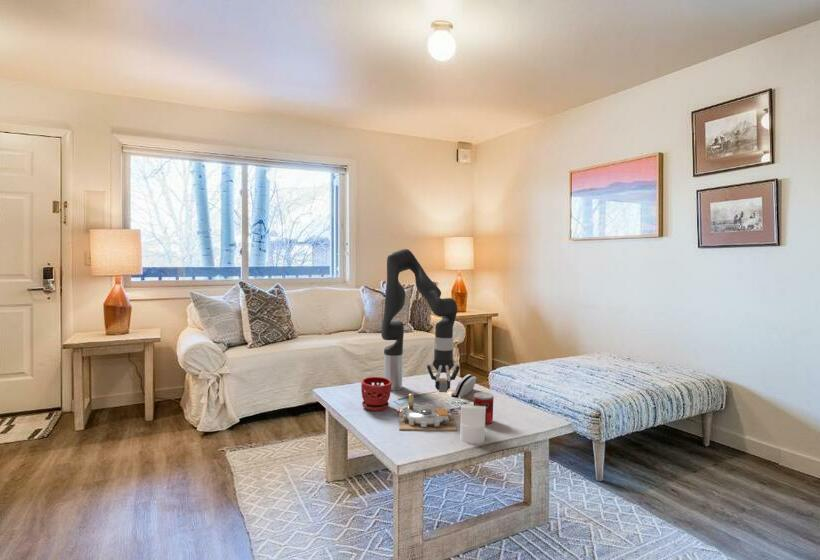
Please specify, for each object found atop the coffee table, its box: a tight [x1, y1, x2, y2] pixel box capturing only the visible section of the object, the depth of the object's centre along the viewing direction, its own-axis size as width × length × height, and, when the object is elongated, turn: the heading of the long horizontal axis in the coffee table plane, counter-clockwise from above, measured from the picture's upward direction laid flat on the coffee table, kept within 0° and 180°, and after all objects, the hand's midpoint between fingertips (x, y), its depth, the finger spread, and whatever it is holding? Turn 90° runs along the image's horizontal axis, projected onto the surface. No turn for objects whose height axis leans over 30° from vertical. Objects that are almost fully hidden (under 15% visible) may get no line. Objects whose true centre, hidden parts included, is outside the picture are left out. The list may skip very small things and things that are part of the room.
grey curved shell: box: [450, 373, 478, 398], centre depth 227 cm, size 17×5×10 cm, turn 151°
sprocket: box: [401, 392, 453, 427], centre depth 191 cm, size 20×20×8 cm
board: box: [398, 408, 457, 432], centre depth 192 cm, size 22×22×1 cm
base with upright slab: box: [459, 404, 486, 445], centre depth 174 cm, size 9×9×12 cm
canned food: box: [473, 391, 494, 426], centre depth 191 cm, size 8×8×11 cm
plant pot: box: [360, 376, 392, 412], centre depth 204 cm, size 13×13×12 cm
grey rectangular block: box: [438, 377, 448, 394], centre depth 191 cm, size 6×3×4 cm, turn 1°
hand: (442, 389), depth 191 cm, fingers closed on grey rectangular block, 3 cm apart
